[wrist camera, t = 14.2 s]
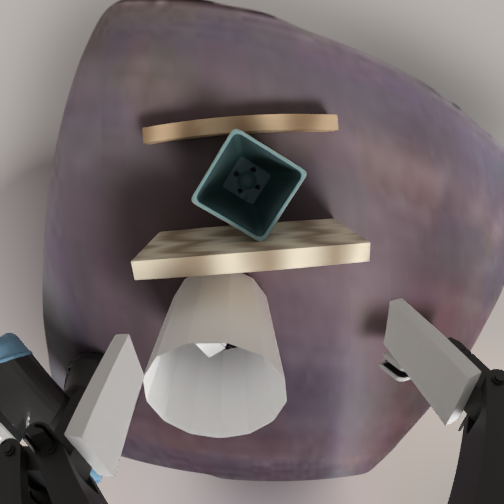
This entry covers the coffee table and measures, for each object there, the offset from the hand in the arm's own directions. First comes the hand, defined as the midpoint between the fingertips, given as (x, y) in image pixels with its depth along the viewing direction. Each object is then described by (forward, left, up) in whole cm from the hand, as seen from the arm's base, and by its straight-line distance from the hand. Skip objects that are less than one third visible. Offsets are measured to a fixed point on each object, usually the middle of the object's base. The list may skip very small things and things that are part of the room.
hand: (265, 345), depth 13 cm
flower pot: (0, +6, -27) cm, 27 cm away
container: (-5, -13, -27) cm, 30 cm away
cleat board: (0, +6, -27) cm, 27 cm away
